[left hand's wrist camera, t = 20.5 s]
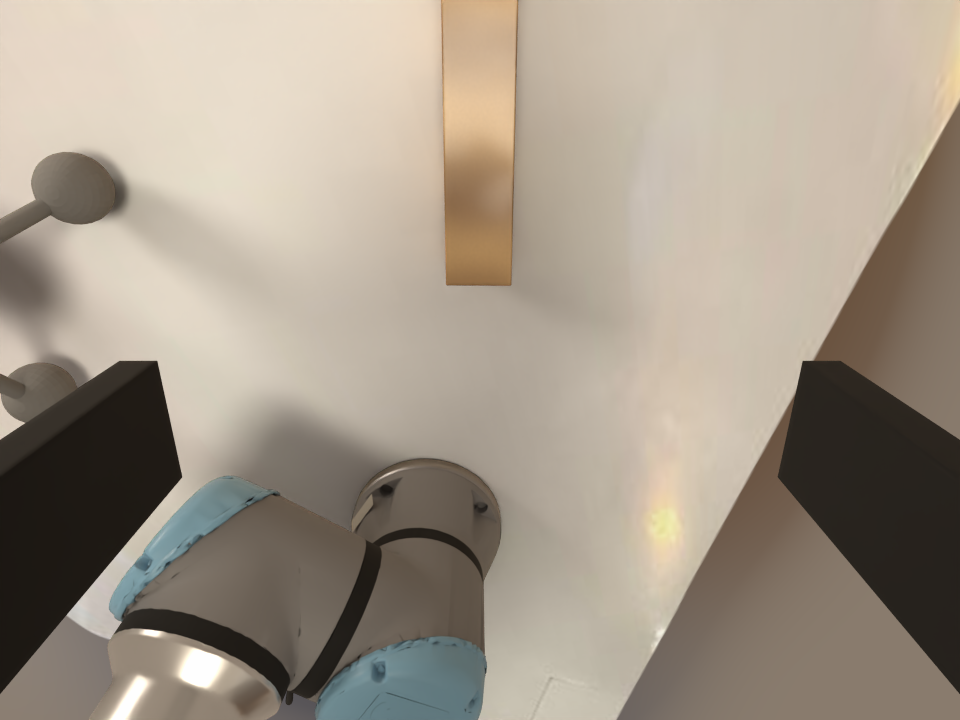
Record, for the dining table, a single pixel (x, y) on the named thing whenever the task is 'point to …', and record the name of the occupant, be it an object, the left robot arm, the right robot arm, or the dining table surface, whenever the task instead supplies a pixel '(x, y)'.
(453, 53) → the post
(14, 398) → the molecular model
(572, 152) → the dining table surface
